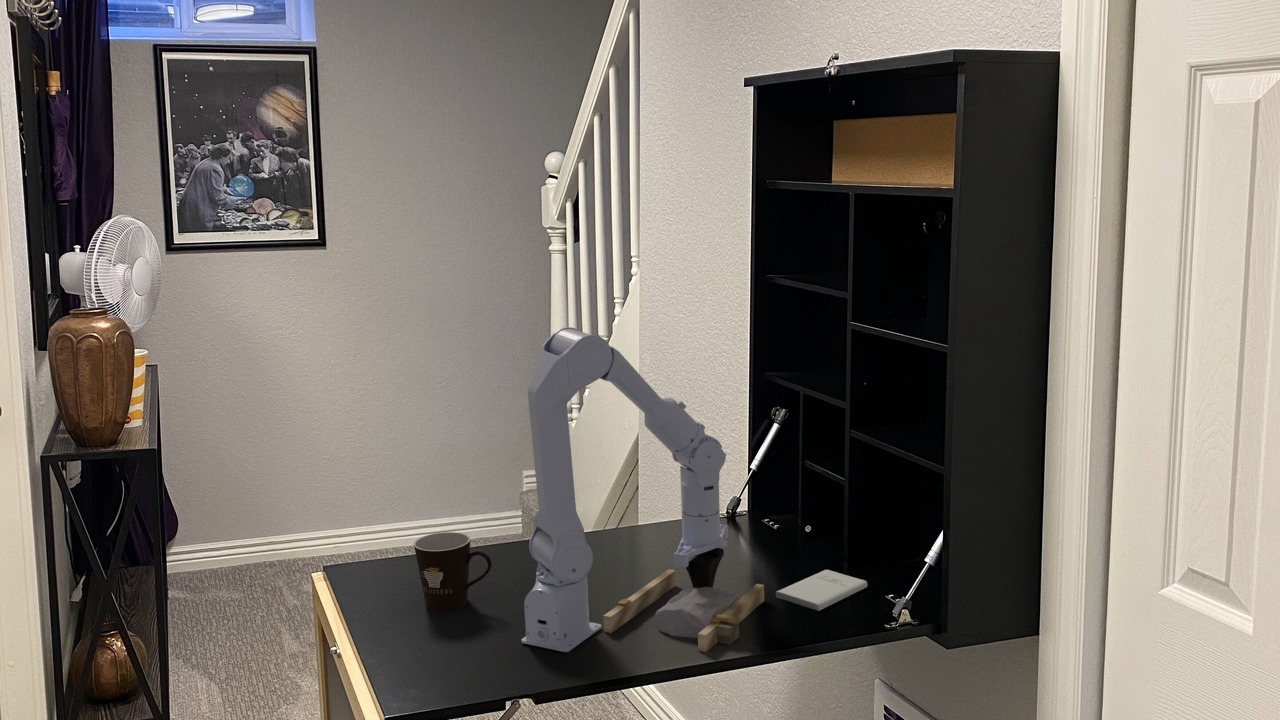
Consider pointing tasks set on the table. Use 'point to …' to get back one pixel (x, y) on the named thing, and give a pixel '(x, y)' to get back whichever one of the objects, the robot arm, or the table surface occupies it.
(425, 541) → the coffee mug
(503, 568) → the table surface
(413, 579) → the table surface
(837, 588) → the external hard drive
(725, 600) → the stone block
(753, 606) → the beam track
